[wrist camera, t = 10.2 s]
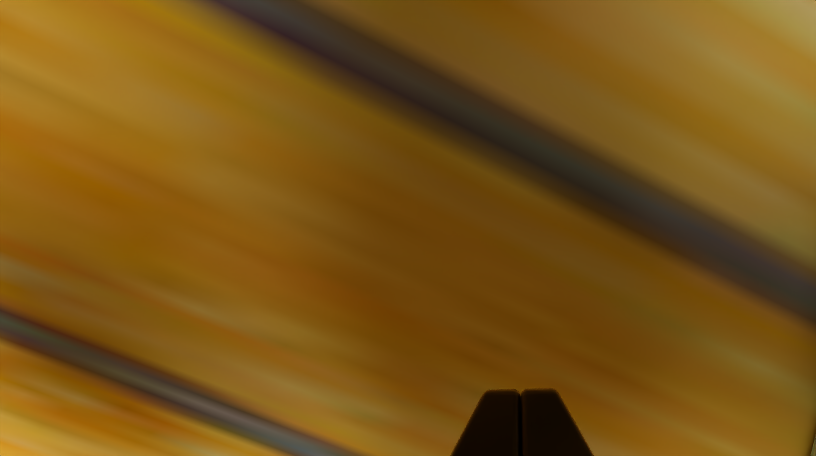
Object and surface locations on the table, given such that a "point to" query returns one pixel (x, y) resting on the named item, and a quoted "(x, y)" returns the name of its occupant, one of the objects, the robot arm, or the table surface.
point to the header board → (814, 448)
